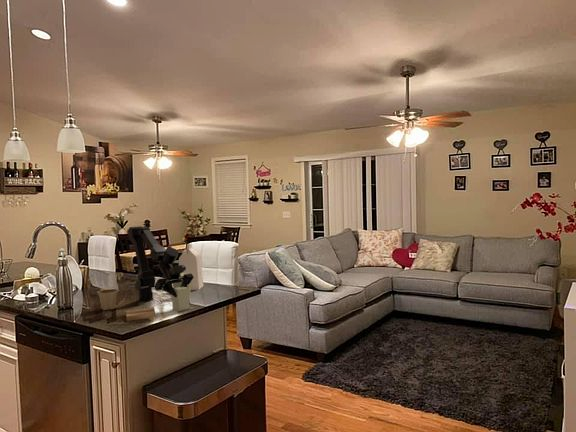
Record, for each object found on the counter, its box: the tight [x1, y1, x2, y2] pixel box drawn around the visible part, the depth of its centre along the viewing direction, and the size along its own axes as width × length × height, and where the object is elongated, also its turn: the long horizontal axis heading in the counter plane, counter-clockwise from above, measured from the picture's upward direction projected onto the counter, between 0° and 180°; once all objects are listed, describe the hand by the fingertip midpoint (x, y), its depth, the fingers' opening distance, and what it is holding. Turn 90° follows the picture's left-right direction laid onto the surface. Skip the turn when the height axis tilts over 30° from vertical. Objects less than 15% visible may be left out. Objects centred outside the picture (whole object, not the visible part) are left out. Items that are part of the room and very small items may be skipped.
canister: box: [171, 286, 191, 312], centre depth 204 cm, size 6×6×10 cm
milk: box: [178, 243, 204, 291], centre depth 256 cm, size 12×12×26 cm
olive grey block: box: [172, 273, 192, 297], centre depth 235 cm, size 9×9×12 cm
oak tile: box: [125, 306, 157, 322], centre depth 195 cm, size 12×12×2 cm
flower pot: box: [96, 288, 119, 311], centre depth 212 cm, size 9×9×9 cm
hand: (182, 295), depth 203 cm, fingers closed on canister, 6 cm apart
